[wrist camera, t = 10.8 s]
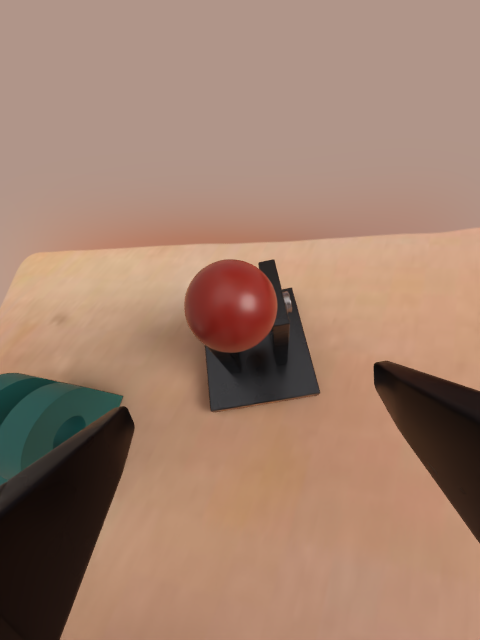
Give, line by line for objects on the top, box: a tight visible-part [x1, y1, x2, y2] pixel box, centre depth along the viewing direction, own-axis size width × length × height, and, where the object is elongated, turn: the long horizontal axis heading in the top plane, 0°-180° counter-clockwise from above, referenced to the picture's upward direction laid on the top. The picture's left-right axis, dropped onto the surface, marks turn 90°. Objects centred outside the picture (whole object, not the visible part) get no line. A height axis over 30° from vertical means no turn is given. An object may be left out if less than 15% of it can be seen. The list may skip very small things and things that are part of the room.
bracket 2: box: [205, 260, 320, 412], centre depth 19 cm, size 10×9×10 cm
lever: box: [184, 260, 277, 353], centre depth 13 cm, size 10×3×3 cm
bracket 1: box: [0, 373, 123, 485], centre depth 17 cm, size 18×7×8 cm, turn 169°
